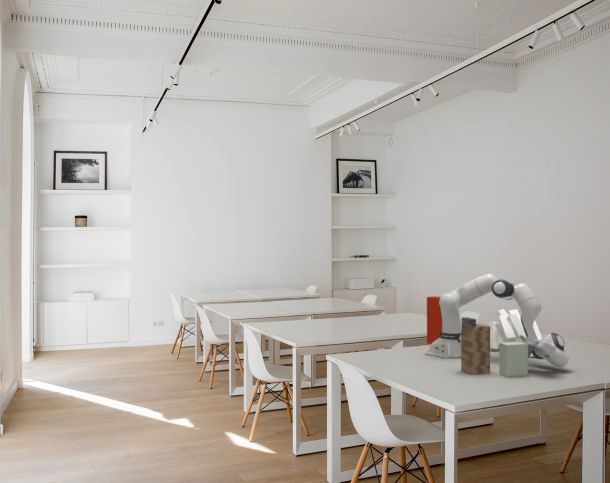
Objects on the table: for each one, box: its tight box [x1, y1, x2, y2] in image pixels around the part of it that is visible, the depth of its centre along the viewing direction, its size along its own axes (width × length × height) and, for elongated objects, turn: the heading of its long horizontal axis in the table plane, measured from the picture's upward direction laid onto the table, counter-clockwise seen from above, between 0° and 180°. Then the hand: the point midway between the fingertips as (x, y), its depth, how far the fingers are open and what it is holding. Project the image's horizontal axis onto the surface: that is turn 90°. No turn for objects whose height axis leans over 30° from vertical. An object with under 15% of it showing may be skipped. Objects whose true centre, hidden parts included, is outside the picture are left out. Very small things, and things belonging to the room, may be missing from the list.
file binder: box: [426, 295, 442, 345], centre depth 393 cm, size 8×17×32 cm, turn 36°
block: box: [498, 341, 529, 378], centre depth 306 cm, size 12×7×16 cm, turn 106°
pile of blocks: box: [488, 308, 543, 358], centre depth 367 cm, size 35×30×35 cm
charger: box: [528, 345, 535, 359], centre depth 312 cm, size 17×5×7 cm
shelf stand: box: [460, 316, 491, 375], centre depth 313 cm, size 12×9×29 cm
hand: (523, 337), depth 308 cm, fingers open, 5 cm apart
